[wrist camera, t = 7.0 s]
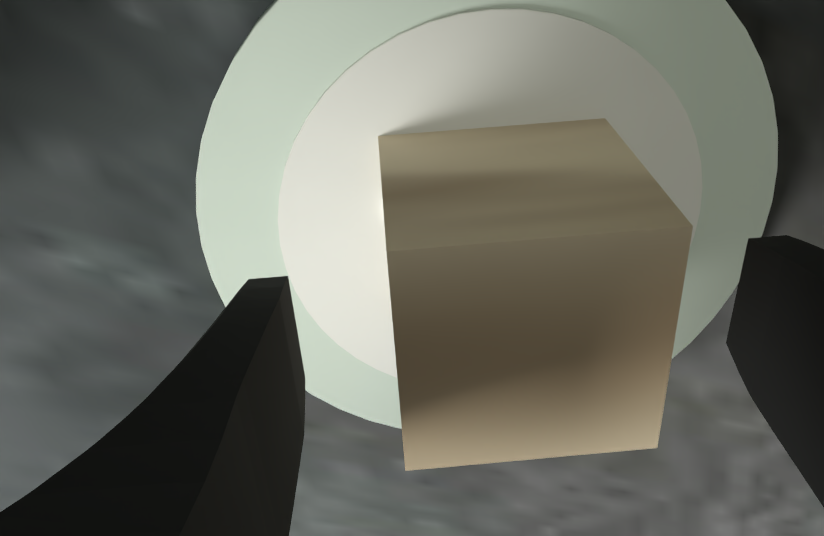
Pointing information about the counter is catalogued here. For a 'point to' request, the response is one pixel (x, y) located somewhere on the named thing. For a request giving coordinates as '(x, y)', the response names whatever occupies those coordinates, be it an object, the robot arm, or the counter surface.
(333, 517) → the counter surface
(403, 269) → the block
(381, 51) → the dish
